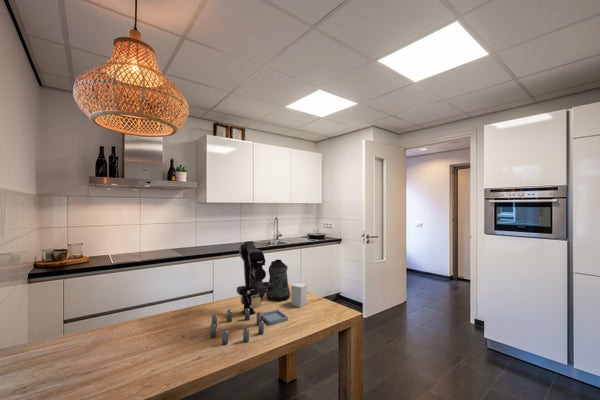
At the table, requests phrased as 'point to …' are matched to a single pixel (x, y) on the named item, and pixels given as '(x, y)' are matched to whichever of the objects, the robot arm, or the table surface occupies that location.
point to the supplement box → (299, 295)
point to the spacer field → (245, 330)
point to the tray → (274, 317)
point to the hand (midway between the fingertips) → (255, 304)
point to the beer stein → (278, 282)
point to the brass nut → (255, 301)
